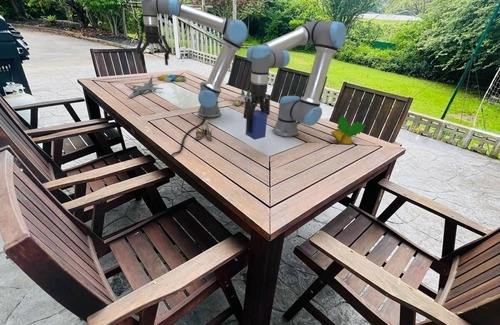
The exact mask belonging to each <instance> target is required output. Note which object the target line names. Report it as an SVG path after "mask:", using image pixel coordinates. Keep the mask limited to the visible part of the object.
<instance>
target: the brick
mask: <svg viewBox="0 0 500 325" xmlns="http://www.w3.org/2000/svg"><path fill="white" fill-rule="evenodd" d="M267 116H268V115H267V113H264V112H262V111H261V109H255V110H254V113H253V116H252V120H253V124H252V133H250V132H248V131H247V128H248V126H247V119H245V120H246V122H245V136H247V137H249V138H250V139H252V140H254V141H256V140H259V139H263V138H265V137H266V133H267V124H268V122H267V121H268V117H267Z"/></svg>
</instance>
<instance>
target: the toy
mask: <svg viewBox="0 0 500 325" xmlns="http://www.w3.org/2000/svg"><path fill="white" fill-rule="evenodd" d="M240 92H241V93H240V95H238V96H237V97H235V99H233V98H230V99H228V98H227V97H226V96H225V97H224V98H223V101H224V102H233V103H232V104H233V105H235V106H242V103H243V104H245V97H247V98H248V97H250V95H251V89H249V90H248V91H247V92H246V93H245V91H244V89H242V90H241V91H240ZM253 104H255V103H253Z"/></svg>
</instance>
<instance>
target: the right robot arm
mask: <svg viewBox="0 0 500 325" xmlns="http://www.w3.org/2000/svg"><path fill="white" fill-rule="evenodd" d="M346 40H347V27H346V26H345V24H344V23H343V22H341V21H336V20H320V19H319V20H312V21H308V22H306V23H304V24H301V25H299V26H297V27H296V28H295V29H294V30H293V31H290V32H287V33H286V34H283V35H281V36H279V37H276V38H274V39H272V40H269V41H267V42H265V43H262V44H255V45H250V46H249V47H248V48H247V50H246V53H245V54H246V59H247V61H248V62H251V74H250V75H251V76H250V82H251V83H250V97H248V98H247V97H245V100H244V101H245V103H244V109H243V119H244V120H246V119H247V126H248V128H247V131H248V132H250V133H252V124H253V120H252V116H253V113H254V110H256V108H257V107H258V105H259V108H260V109H259V110H260V111H262V112H264V113H267V118H269V117H268V116H270V115H271V114H270V113H271V98H272V95H271V94H268V93H267V92H268V82H269V73H270V72H269V71H270V69H281V68H285V67H287V66H288V65H289V64H290V60H291V55H290V53H289V52H288V51H289V50H291V49H294V48H295V47H298V46H305V45H315V46H314V48H315V50H316V53H315V55H314V56H315V57H314V60H313V64H312V67H311V70H310V74H309V78H308V81H307V84H306V87H305V91H304V94H303V96H302V97H300V96H298V95H284V96H282V97H280V100H279V105H278V115H277V121H276V123H275V125H274V127H273V133H274V134H275V135H278V136H279V137H285V138H292V137H296V136H297V135H298V132H299V129H298V124H299V123H300V124H303V125H304V126H305V125H306V126H310V127H312V126H314V125H316V124H317V123H318V122H319V121H320V120H321V117H322V115H323V108H321V103H322V102H321V101H320V98H321V94H322V91H323V88H324V85H325V81H326V78H327V76H328V72H329V68H330V65H331V62H332V59H333V56H334V54H336V53H337V52H338V49H340V48H342V47H343V46H344V44H345V43H346ZM253 103H255V104H253Z"/></svg>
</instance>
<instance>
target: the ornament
mask: <svg viewBox="0 0 500 325" xmlns="http://www.w3.org/2000/svg"><path fill="white" fill-rule="evenodd" d="M365 127H367V125H366V124H363V122H360V121H356V122H352V124H349V121H348V118H347V117H346V116H343V115H342V114H341V115H340V118H338V122H337V127H336V128H337V129H335V130H332V131H331V132H330V134H331V135H332V136H333V138H334V139H335V140H336V141H338V142H340V143H342V144H345V145H348V144H349V145H350V144H352V143H353V139H352V138H353V136H354V137H357V135H361V133H362V132H363V131H364V129H365Z"/></svg>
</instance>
